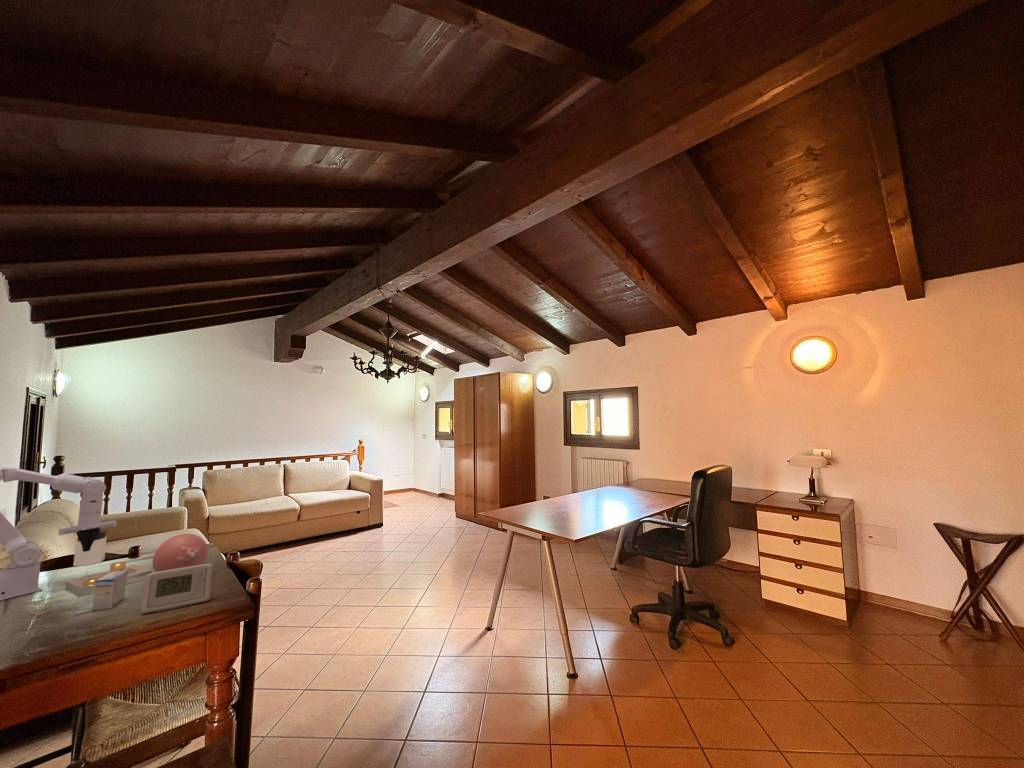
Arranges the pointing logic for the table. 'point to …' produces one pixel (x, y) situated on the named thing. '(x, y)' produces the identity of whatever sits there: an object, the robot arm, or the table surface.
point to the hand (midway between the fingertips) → (86, 550)
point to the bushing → (118, 566)
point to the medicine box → (109, 590)
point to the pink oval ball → (180, 552)
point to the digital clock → (176, 588)
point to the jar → (91, 551)
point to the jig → (88, 582)
